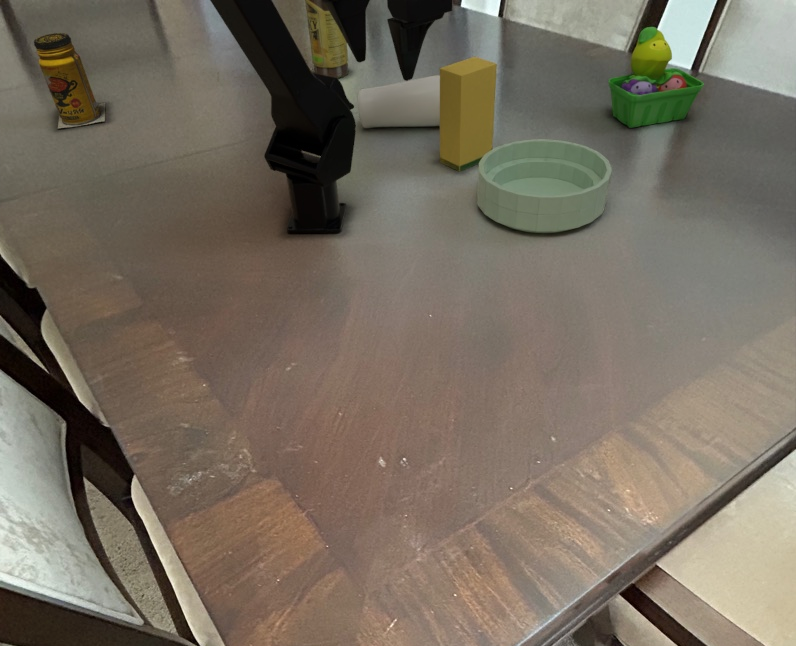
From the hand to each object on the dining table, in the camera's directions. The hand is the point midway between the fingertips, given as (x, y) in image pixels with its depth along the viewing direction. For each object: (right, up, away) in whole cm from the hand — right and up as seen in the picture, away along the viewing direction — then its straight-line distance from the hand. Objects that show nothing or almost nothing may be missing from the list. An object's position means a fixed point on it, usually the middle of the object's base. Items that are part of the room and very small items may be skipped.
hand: (383, 70), depth 80 cm
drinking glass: (-4, +4, +19) cm, 20 cm away
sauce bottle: (-10, +19, +39) cm, 44 cm away
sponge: (+11, -6, +11) cm, 17 cm away
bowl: (+19, -16, +1) cm, 25 cm away
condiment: (-50, +7, +29) cm, 58 cm away
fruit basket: (+39, +3, +19) cm, 43 cm away
